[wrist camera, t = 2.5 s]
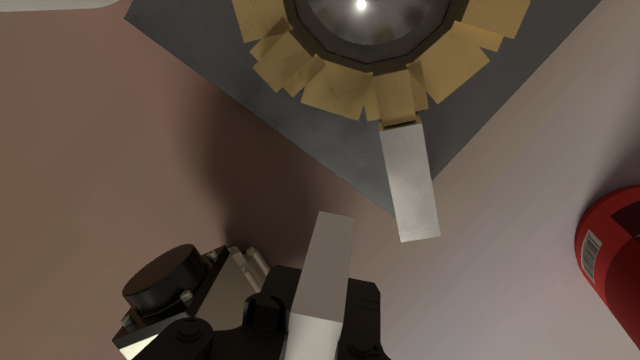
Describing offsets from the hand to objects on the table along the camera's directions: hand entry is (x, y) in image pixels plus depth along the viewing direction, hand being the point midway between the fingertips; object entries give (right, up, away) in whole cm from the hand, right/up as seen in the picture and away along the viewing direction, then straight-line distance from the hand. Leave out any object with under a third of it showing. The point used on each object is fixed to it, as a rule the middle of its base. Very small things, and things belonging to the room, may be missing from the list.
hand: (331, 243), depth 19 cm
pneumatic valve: (-6, -4, +15) cm, 16 cm away
